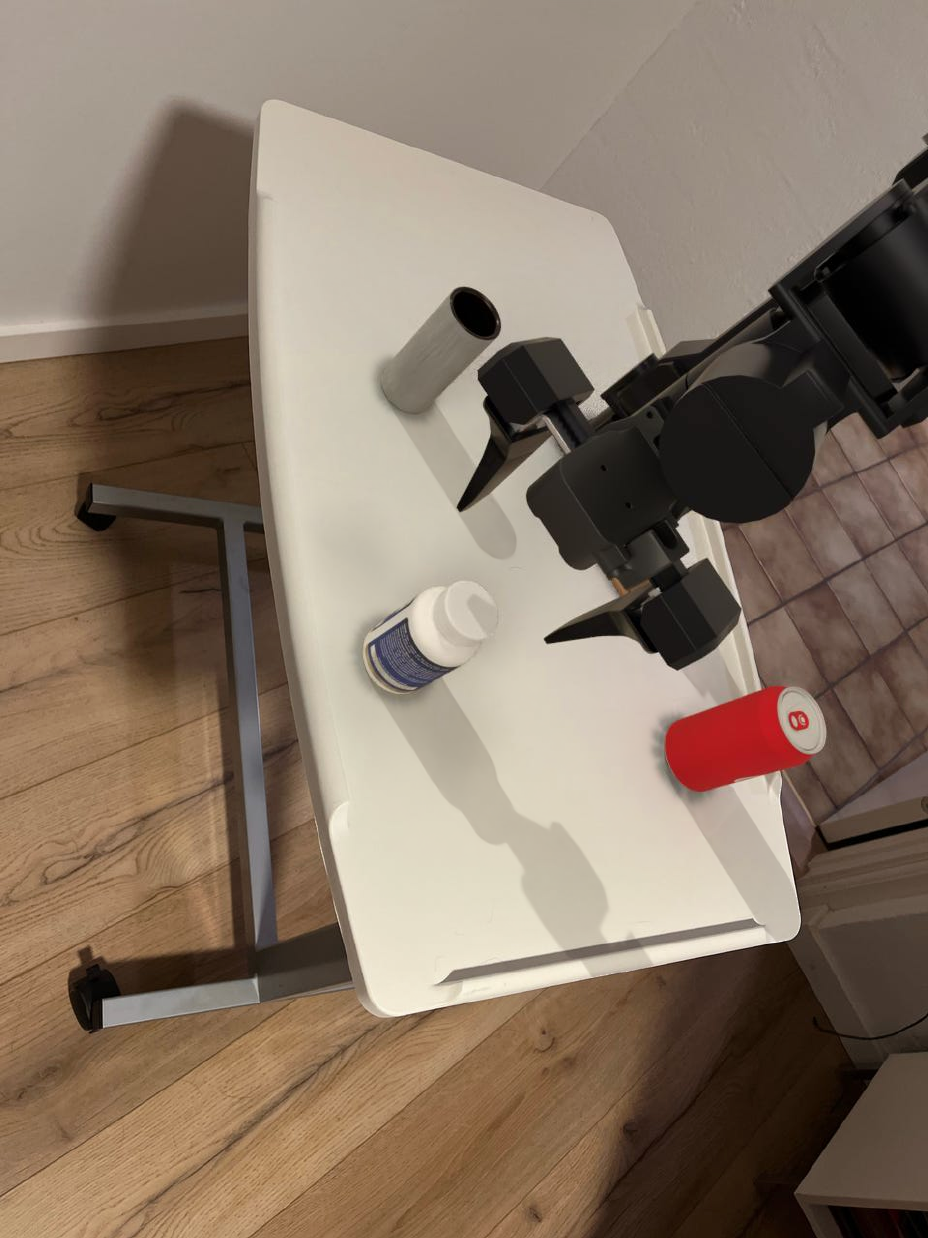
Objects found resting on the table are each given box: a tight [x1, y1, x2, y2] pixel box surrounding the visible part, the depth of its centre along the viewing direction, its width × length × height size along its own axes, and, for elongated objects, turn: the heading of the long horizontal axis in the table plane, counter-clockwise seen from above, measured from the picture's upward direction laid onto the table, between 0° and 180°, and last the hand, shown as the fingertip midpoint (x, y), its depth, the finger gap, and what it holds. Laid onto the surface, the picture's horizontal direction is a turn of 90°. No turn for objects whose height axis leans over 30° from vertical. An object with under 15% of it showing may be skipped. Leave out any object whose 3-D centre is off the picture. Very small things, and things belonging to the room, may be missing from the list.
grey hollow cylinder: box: [380, 286, 502, 414], centre depth 69 cm, size 4×4×10 cm
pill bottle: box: [362, 580, 499, 695], centre depth 59 cm, size 5×5×10 cm
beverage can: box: [664, 685, 827, 793], centre depth 72 cm, size 6×6×12 cm
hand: (504, 573), depth 53 cm, fingers open, 9 cm apart
